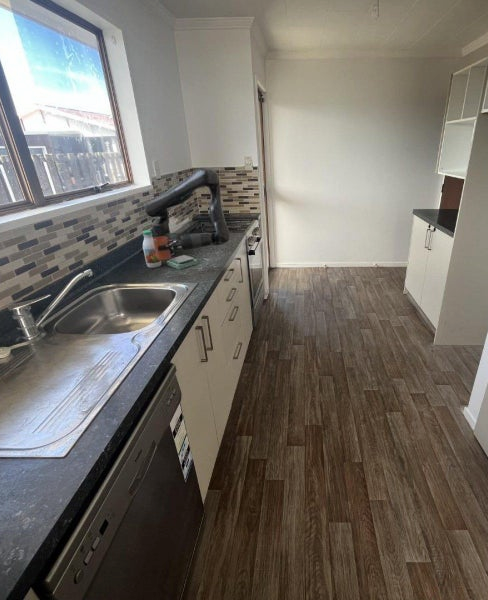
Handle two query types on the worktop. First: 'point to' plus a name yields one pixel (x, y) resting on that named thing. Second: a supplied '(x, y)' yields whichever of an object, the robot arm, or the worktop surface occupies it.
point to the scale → (182, 264)
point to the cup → (160, 242)
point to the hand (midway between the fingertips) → (156, 246)
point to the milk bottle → (150, 250)
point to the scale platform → (181, 259)
